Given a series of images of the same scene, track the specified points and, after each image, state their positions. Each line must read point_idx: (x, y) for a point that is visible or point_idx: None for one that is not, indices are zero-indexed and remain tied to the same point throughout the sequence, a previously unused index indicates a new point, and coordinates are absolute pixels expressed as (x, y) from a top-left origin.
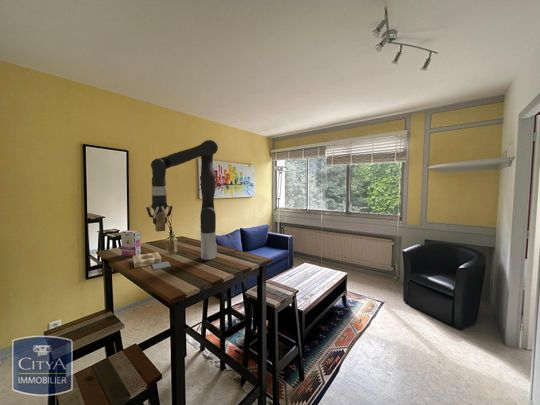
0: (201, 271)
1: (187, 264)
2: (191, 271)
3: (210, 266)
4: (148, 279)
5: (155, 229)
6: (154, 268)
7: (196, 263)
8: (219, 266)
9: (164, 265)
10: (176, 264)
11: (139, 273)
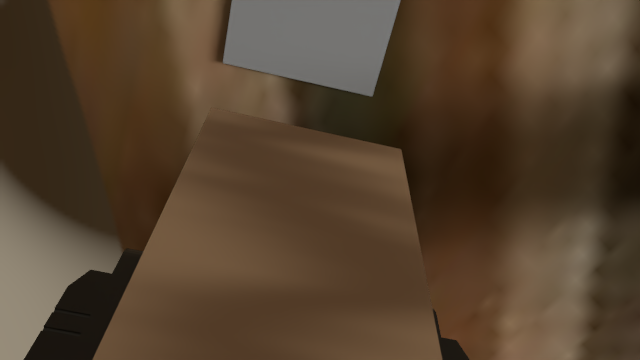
0: (476, 320)
1: (504, 139)
2: (430, 279)
3: (585, 295)
4: (142, 201)
5: (205, 126)
6: (232, 47)
7: (570, 173)
8: (623, 334)
9: (332, 39)
10: (439, 67)
11: (104, 39)
